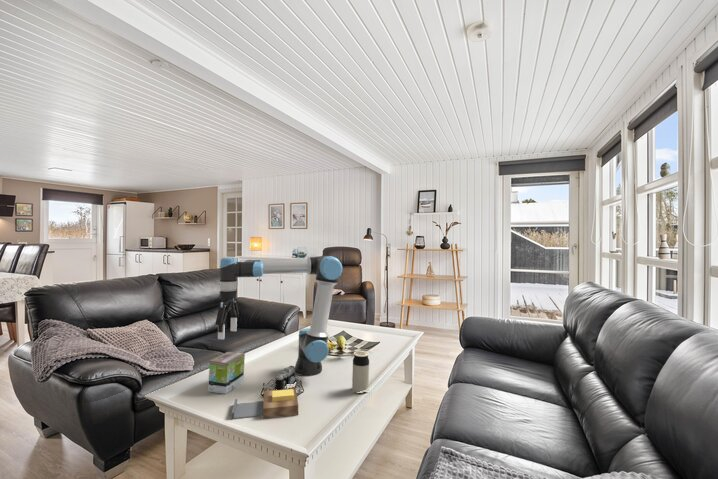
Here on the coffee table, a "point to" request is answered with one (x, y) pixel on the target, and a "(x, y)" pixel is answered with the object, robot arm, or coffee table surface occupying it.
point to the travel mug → (360, 371)
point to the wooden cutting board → (279, 406)
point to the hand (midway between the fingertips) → (227, 335)
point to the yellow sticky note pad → (282, 395)
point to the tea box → (226, 372)
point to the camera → (285, 378)
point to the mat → (247, 410)
